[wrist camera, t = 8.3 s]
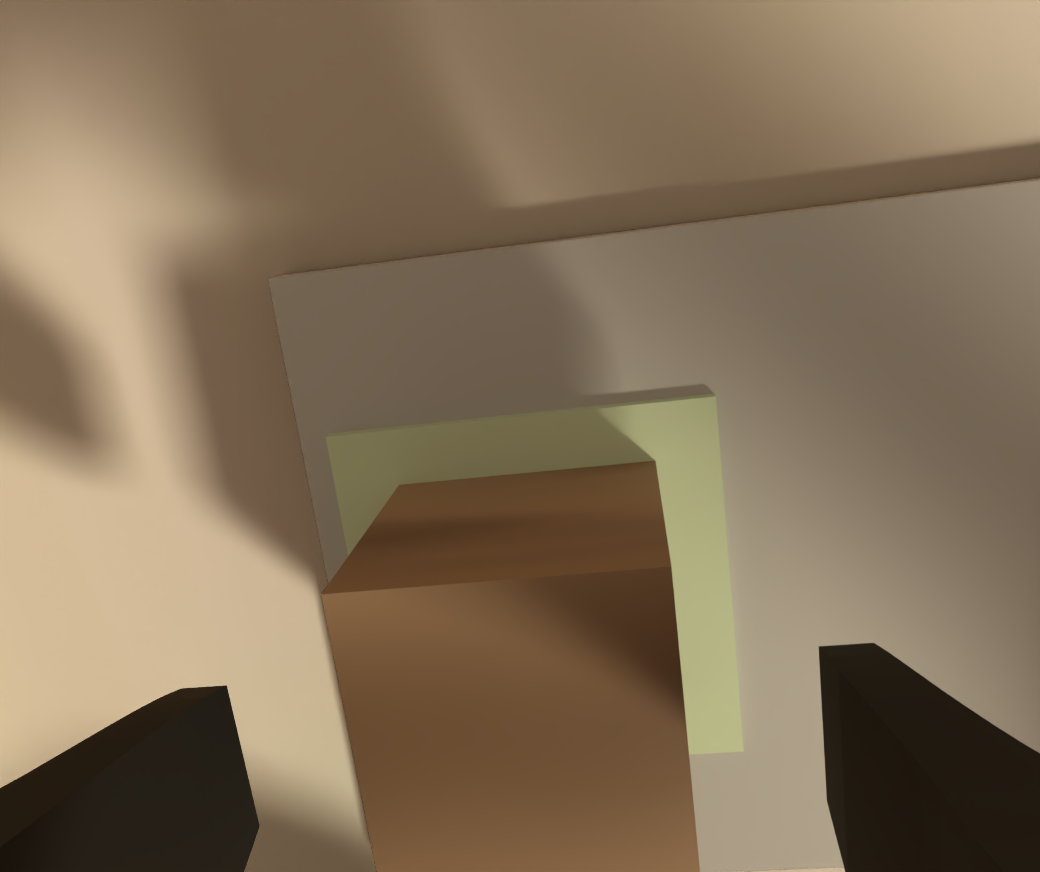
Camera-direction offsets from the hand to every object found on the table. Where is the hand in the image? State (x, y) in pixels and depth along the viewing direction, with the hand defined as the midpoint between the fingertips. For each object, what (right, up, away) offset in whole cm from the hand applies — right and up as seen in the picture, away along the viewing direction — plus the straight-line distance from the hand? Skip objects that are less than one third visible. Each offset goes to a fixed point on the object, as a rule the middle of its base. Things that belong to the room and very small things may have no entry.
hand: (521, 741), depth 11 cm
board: (+6, +2, +4) cm, 7 cm away
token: (0, +1, +4) cm, 4 cm away
